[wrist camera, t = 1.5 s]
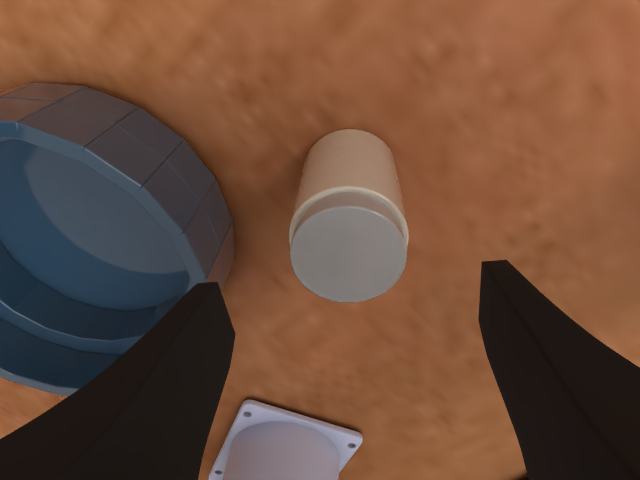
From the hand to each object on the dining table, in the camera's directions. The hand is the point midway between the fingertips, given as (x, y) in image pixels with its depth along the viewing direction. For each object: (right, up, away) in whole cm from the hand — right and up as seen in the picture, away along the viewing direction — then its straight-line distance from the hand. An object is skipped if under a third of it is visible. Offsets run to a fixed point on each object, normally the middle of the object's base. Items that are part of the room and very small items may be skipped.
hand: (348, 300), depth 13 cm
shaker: (0, +5, +7) cm, 9 cm away
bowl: (-11, +3, +9) cm, 15 cm away
